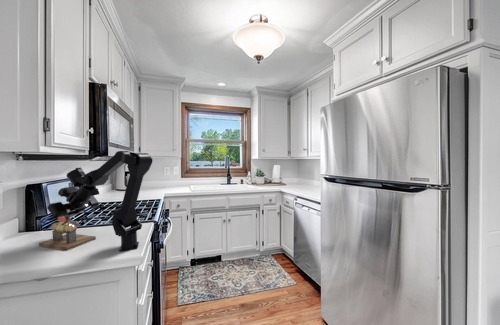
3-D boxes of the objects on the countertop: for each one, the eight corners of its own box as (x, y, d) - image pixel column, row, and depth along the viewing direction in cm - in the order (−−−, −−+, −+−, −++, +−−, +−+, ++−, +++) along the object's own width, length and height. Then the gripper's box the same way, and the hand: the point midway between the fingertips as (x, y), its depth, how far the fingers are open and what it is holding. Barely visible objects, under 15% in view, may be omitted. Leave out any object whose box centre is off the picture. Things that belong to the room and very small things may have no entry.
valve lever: (79, 221, 101) (61, 215, 104) (76, 222, 100) (58, 216, 103) (79, 226, 102) (61, 220, 105) (75, 227, 100) (57, 221, 103)
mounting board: (95, 239, 101) (95, 236, 101) (67, 250, 90) (67, 247, 90) (69, 235, 106) (69, 233, 106) (39, 246, 95) (39, 243, 94)
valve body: (83, 238, 99) (82, 220, 98) (67, 244, 93) (66, 224, 92) (65, 236, 102) (64, 218, 101) (48, 242, 96) (47, 222, 95)
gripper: (93, 178, 109) (77, 200, 113) (49, 184, 91) (31, 209, 95) (106, 195, 107) (90, 217, 111) (64, 204, 89) (46, 229, 93)
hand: (66, 217), depth 102 cm, fingers closed, pressing on valve lever
